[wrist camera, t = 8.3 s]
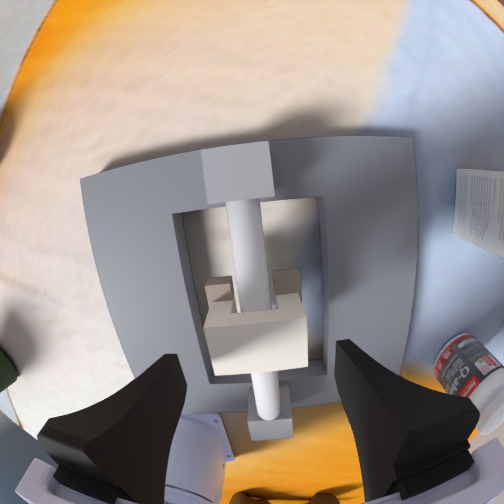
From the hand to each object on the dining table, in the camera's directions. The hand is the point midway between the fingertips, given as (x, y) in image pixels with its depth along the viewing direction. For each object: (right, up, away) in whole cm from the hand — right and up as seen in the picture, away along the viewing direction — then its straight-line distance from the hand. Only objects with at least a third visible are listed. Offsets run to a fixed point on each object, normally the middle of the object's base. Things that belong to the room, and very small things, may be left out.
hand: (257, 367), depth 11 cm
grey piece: (0, +2, +8) cm, 8 cm away
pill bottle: (+20, -5, +9) cm, 23 cm away
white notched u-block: (0, +1, +5) cm, 5 cm away
